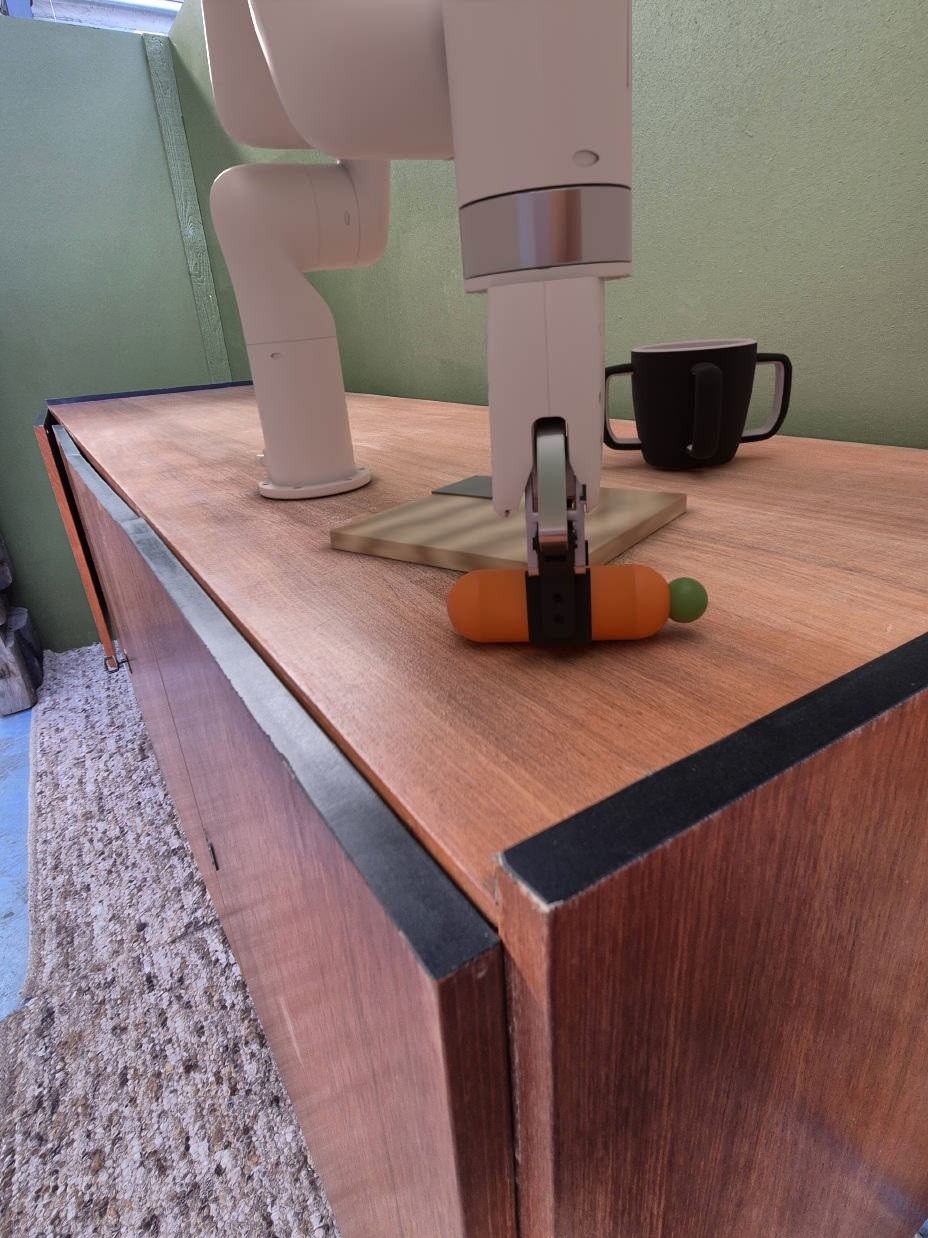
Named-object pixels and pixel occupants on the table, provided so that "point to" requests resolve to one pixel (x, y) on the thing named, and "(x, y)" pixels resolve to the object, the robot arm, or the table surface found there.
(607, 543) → the chopping board
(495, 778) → the table surface
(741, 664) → the table surface
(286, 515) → the table surface
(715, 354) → the mug
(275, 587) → the table surface
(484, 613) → the carrot
